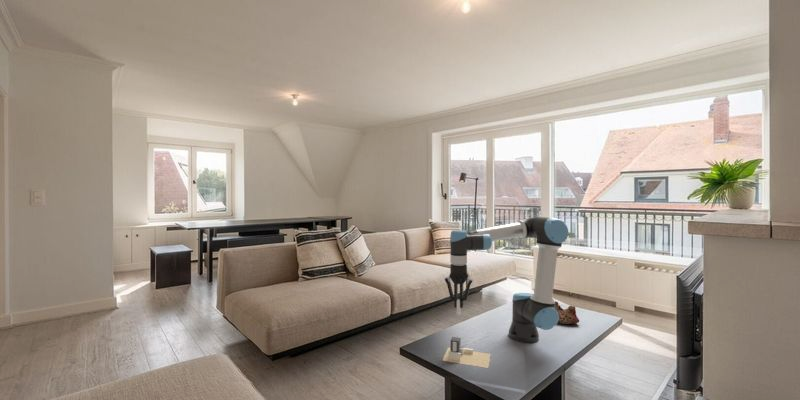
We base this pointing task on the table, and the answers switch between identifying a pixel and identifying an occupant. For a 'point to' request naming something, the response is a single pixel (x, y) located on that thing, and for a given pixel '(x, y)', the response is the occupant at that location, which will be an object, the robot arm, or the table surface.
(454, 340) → the plug
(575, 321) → the coral
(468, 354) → the board
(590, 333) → the table surface
